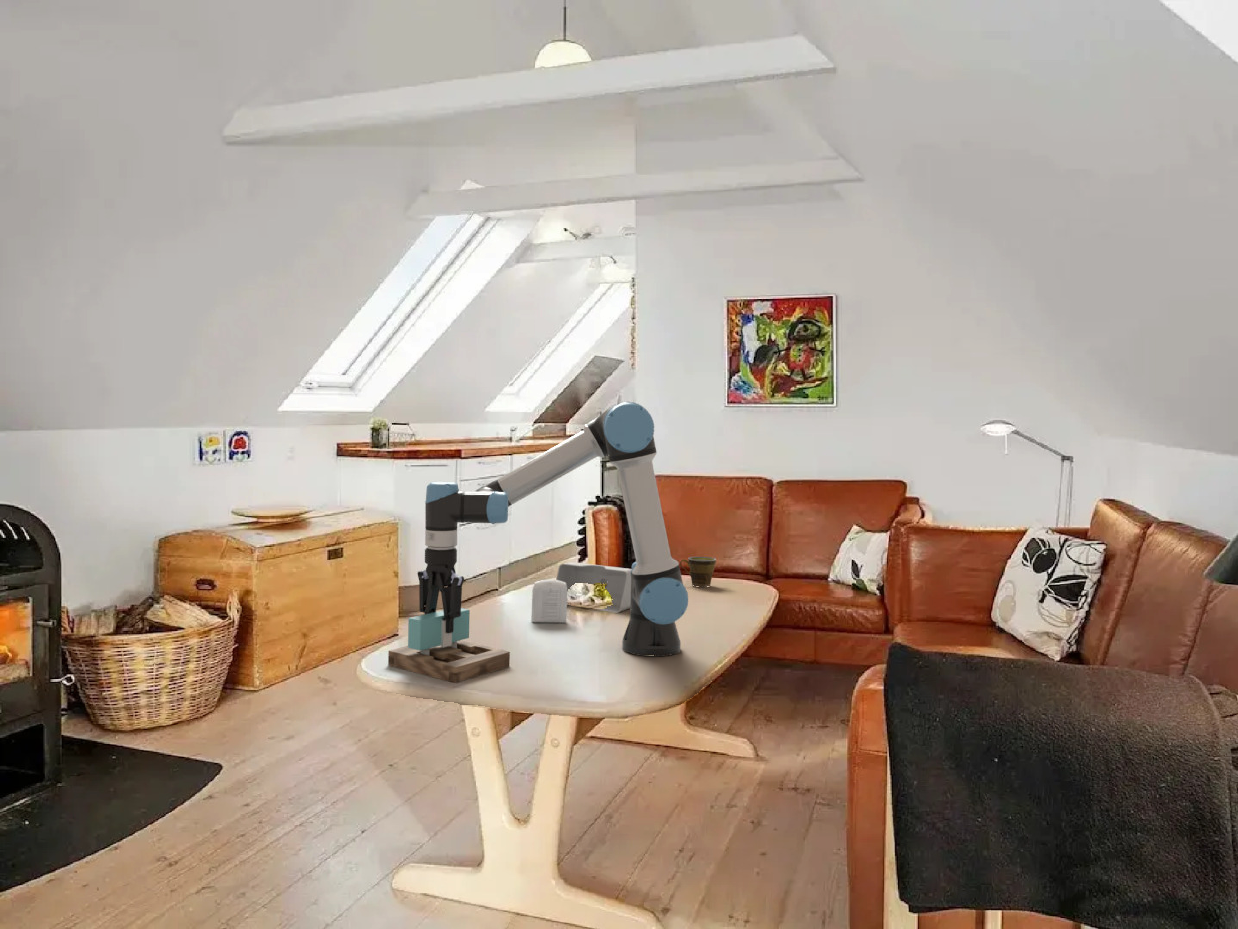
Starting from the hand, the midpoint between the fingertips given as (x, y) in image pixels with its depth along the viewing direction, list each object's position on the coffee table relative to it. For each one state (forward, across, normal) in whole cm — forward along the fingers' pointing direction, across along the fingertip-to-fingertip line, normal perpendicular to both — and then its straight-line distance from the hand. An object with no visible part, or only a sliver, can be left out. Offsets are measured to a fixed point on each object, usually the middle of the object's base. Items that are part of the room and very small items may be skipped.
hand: (439, 644), depth 217 cm
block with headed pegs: (+4, 0, 0) cm, 4 cm away
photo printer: (+5, -8, +52) cm, 53 cm away
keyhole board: (+5, +4, 0) cm, 6 cm away
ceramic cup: (+5, -6, +133) cm, 133 cm away
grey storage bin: (+5, -13, +82) cm, 83 cm away
